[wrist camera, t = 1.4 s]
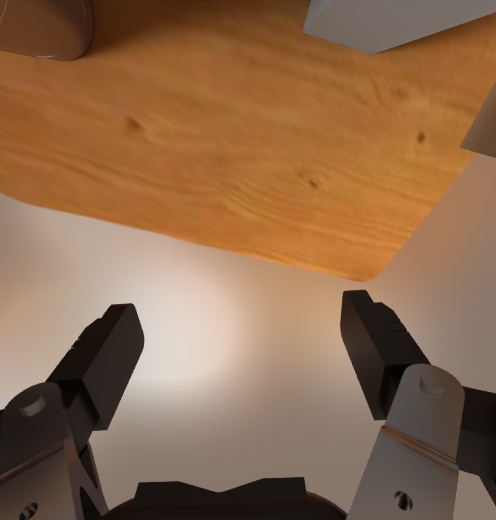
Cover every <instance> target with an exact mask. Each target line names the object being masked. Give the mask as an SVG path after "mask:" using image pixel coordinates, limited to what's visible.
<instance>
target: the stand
mask: <svg viewBox="0 0 496 520" xmlns="http://www.w3.org/2000/svg"><path fill="white" fill-rule="evenodd" d="M495 12H496V0H311V1H310V5H309V9H308V12H307V16H306V20H305V24H304V27H303V31H302V33H306V34H309V35H312V36H315V37H318V38H321V39H325V40H328V41H331V42H334V43H337V44H340V45H344V46H347V47H350V48H353V49H356V50H359V51H363V52H366V53H369V54H372V55H373V54H376V53H379V52H382V51H384V50H387V49H390V48H393V47H396V46H399V45H402V44H405V43H408V42H411V41H414V40H416V39H419V38H422V37H425V36H428V35H431V34H434V33H437V32H440V31H443V30H446V29H449V28H451V27H454V26H457V25H460V24H463V23H466V22H469V21H472V20H475V19H478V18H481V17H483V16H486V15H489V14H492V13H495Z"/></svg>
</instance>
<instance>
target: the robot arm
mask: <svg viewBox="0 0 496 520" xmlns="http://www.w3.org/2000/svg"><path fill="white" fill-rule="evenodd" d="M93 30H94V19H93V13H92V8H91V5H90V2H89V0H0V50H1V51H6V52H11V53H16V54H21V55H26V56H31V57H36V56H37V57H42V58H47V59H52V60H57V61H70V60H73V59H76V58H78V57H79V56H81V55H82V54H83V53H84V52H85V51H86V50H87V48H88V47H89V44H90V42H91V40H92V35H93ZM340 328H341V336H342V339H343V342H344V344H345V347H346V350H347V352H348V355H349V357H350V360H351V362H352V365H353V368H354V370H355V373H356V375H357V378H358V380H359V383H360V385H361V388H362V390H363V393H364V395H365V398H366V401H367V403H368V405H369V408H370V410H371V413H372V416H373V418H374V420H386V422H385V425H384V426H382V427H381V429H380V431H379V434H378V436H377V439H376V442H375V444H374V447H373V450H372V452H371V455H370V457H369V460H368V463H367V465H366V468H365V471H364V473H363V476H362V479H361V481H360V484H359V487H358V489H357V492H356V494H355V497H354V500H353V502H352V505H351V508H350V510H349V513H348V514H347V513H346V512H345V511H344V510H342V509H341V508H340V507H338V506H337V505H336V504H334V503H332V502H331V501H329V500H327V499H326V498H324V497H321V496H319V495H317V494H315V493H311V492H308V491H306V487H305V481H304V477H292V478H264V479H260V480H257V481H254V482H251V483H248V484H245V485H242V486H239V487H236V488H233V489H230V490H227V491H224V492H214V491H210V490H207V489H203V488H200V487H197V486H193V485H190V484H186V483H183V482H179V481H173V482H172V481H171V482H142V483H139V484H138V487H137V490H136V494H135V497H134V498H133V499H130V500H128V501H126V502H124V503H122V504H120V505H118V506H116V507H115V508H113V509H112V510H110V511H109V509H108V506H107V504H106V501H105V498H104V495H103V492H102V488H101V484H100V480H99V476H98V472H97V468H96V464H95V460H94V456H93V452H92V449H91V445H90V443H89V441H88V439H89V437H90V435H91V433H92V431H99V430H107V429H108V427H109V425H110V422H111V420H112V418H113V416H114V414H115V411H116V409H117V407H118V404H119V402H120V400H121V398H122V396H123V393H124V391H125V389H126V386H127V384H128V382H129V380H130V378H131V375H132V373H133V371H134V369H135V366H136V364H137V362H138V360H139V357H140V355H141V353H142V351H143V347H144V334H143V330H142V327H141V324H140V321H139V318H138V314H137V311H136V309H135V306H134V305H133V304H132V303H129V304H113V305H111V306H110V307H109V308H108V309H107V311H106V312H105V313H104V315H103V316H102V318H98V319H96V320H95V321H94V322H93V323H91V324H90V325H89V326H87V327H86V328H85V329H84V331H83V332H82V333H81V335H80V336H79V337H78V340H77V341H75V343H74V344H73V345H72V347H71V350H69V351H68V352H67V353H66V355H65V356H64V358H63V359H62V360H61V361H60V363H59V364H58V365H57V367H56V368H55V370H54V371H53V372H52V373H51V375H50V376H49V377H48V379H47V380H46V381H45V382H44V383H39V384H36V385H33V386H31V387H29V388H27V389H25V390H24V391H22V392H21V393H19V394H18V395H16V396H15V397H14V398H13V399H12V400H11V401H10V402H9V403H8V405H7V406H6V407H5V409H2V410H0V520H452V519H453V512H454V505H455V497H456V490H457V482H458V474H459V470H461V471H464V472H468V473H471V474H475V475H478V476H479V477H480V479H481V480H482V482H483V484H484V486H485V488H486V489H487V491H488V493H489V495H490V497H491V498H492V500H493V502H494V504H495V506H496V393H491V392H487V391H482V390H477V389H472V388H468V387H464V386H462V385H461V384H460V382H458V380H457V379H456V378H455V377H454V376H453V375H451V374H450V373H448V372H447V371H445V370H443V369H441V368H439V367H436V366H433V365H431V363H430V362H429V361H428V359H427V358H426V356H425V355H424V354H423V352H422V351H421V349H420V348H419V346H418V345H417V343H416V342H415V341H414V339H413V338H412V336H411V335H410V333H409V332H407V329H406V328H405V326H404V325H403V323H401V321H400V319H399V318H398V316H397V315H396V314H395V312H394V311H393V310H392V309H390V308H389V307H388V306H386V305H385V304H383V303H382V302H378V303H374V302H373V300H372V299H371V297H370V296H369V294H368V292H367V291H366V290H351V291H344V292H343V297H342V309H341V322H340Z"/></svg>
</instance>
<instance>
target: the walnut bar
mask: <svg viewBox="0 0 496 520" xmlns="http://www.w3.org/2000/svg"><path fill="white" fill-rule="evenodd" d="M460 148H463V149H467V150H470V151H474V152H477V153H481V154H484V155H488V156H492V157H495V158H496V82H495V84H494V86H493V87H492V89H491V91H490V93H489V95H488V96H487V98H486V100H485V102H484V104H483V105H482V107H481V109H480V111H479V113H478V114H477V116H476V118H475V120H474V122H473V124H472V125H471V127H470V129H469V131H468V133H467V134H466V136H465V138H464V140H463V142H462V143H461V145H460Z"/></svg>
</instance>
